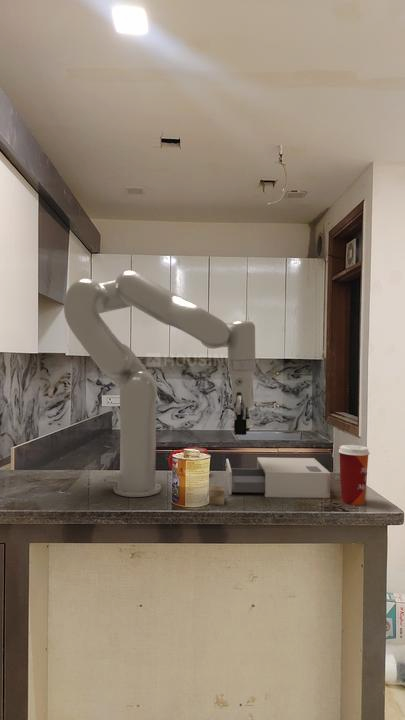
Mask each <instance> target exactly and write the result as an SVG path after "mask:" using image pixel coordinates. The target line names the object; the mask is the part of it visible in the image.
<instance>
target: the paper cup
mask: <svg viewBox="0 0 405 720" xmlns="http://www.w3.org/2000/svg"><path fill="white" fill-rule="evenodd" d="M337 452H338V453H339V454H338V455H339V471H340V473H339V474H340V477H339V478H340V496H341V497H340V498H341V502H342V503H344V504H345V505H351V506H362V505H365V499H366V492H367V490H366V489H367V488H366V487H367V479H368V477H367V476H368V466H369V465H368V463H369V455H370V453H371V452H369V448H368V447H366V446H364V445H359V444H358V445H356V444H344V445H343V444H342V445H340V446H339V449H338V451H337Z"/></svg>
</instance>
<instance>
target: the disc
mask: <svg viewBox="0 0 405 720" xmlns="http://www.w3.org/2000/svg"><path fill="white" fill-rule="evenodd" d="M230 419H231V420H230V422H231V423H230V424H231V428H233V429H234V420H235V417H234V418H230ZM245 420H246V424H247V428H250V429H253V428H254V419H253V418H245Z"/></svg>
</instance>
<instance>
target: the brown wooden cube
mask: <svg viewBox="0 0 405 720" xmlns="http://www.w3.org/2000/svg"><path fill="white" fill-rule="evenodd" d="M208 487H209V488H208V492H209V493H208V504H209V505H212V506H213V505H217V506H218V505H219V506H221V505H222V506H224V505H225V488H224V486H219V485H218V486H208Z"/></svg>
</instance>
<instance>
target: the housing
mask: <svg viewBox="0 0 405 720" xmlns="http://www.w3.org/2000/svg"><path fill="white" fill-rule="evenodd" d="M256 459H257V461H256V462H257V463H256V466H257V467H256V469H263V471H264V472H265V492H262V494H263V495H264V497H265V498H307V499H308V498H309V499H310V498H319V499H322V498H323V499H330V498H331V472H330V471H329V469H327V468H325V466H323V465H322V464H321V463H320V462H319V461H318V460H317V459H316V458H315V457H263V456H261V457H259V456H258V457H257V458H256Z"/></svg>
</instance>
